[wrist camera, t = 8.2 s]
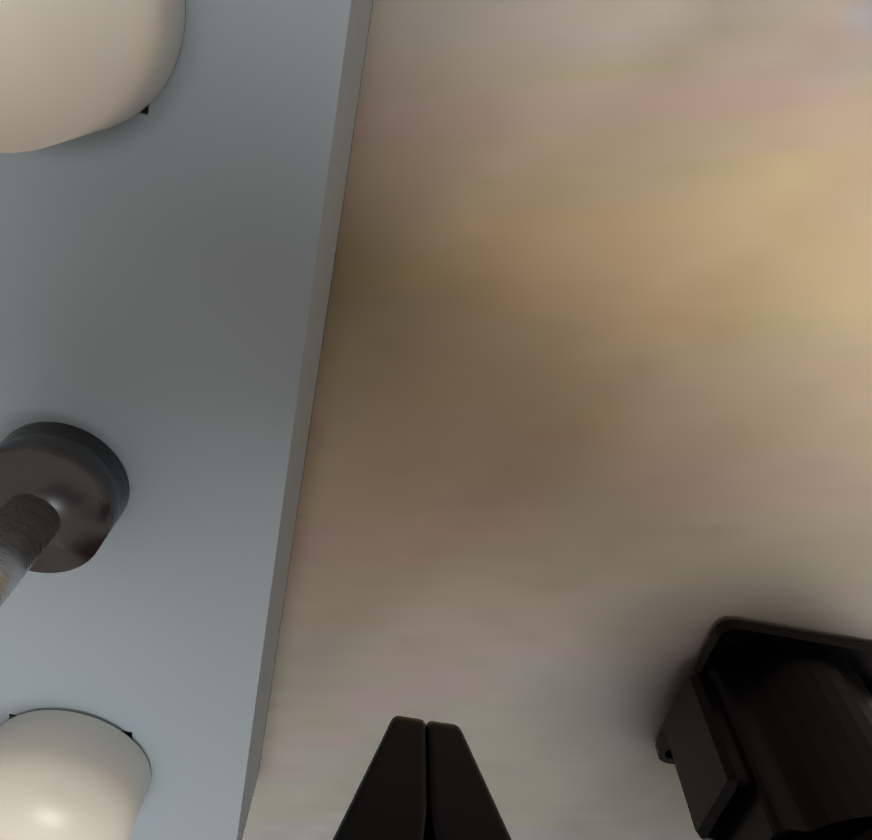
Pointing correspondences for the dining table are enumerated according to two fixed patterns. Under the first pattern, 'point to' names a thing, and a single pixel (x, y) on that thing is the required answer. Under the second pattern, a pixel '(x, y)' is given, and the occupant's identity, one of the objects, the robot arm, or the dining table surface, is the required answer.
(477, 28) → the dining table surface
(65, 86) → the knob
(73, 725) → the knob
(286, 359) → the mount
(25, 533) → the pot stem
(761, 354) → the dining table surface
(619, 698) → the dining table surface
